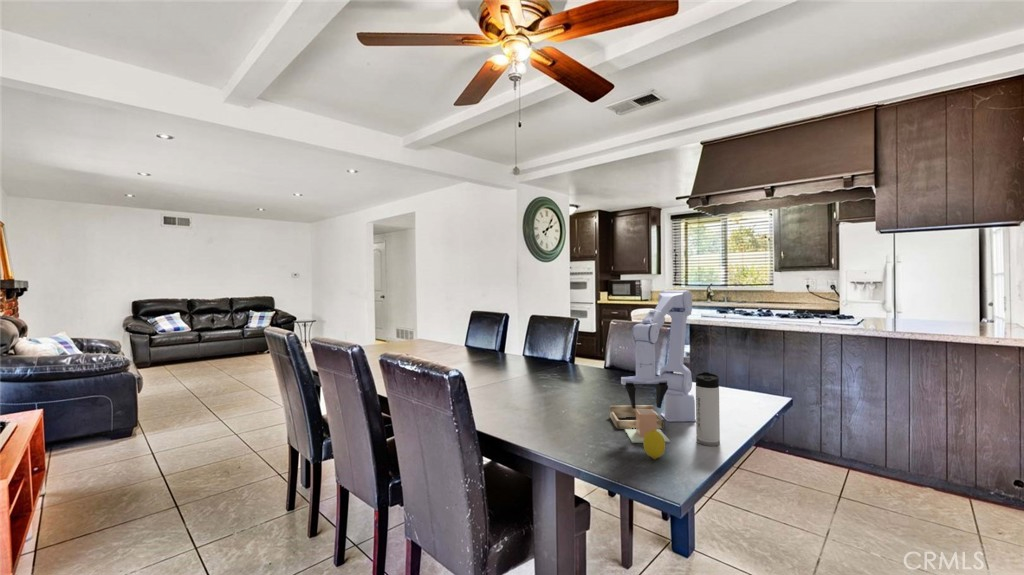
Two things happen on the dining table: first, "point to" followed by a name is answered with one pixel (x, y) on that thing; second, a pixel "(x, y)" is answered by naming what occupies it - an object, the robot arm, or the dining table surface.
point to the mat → (636, 439)
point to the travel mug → (707, 409)
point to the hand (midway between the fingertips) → (646, 407)
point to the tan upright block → (645, 421)
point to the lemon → (654, 444)
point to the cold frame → (630, 412)
